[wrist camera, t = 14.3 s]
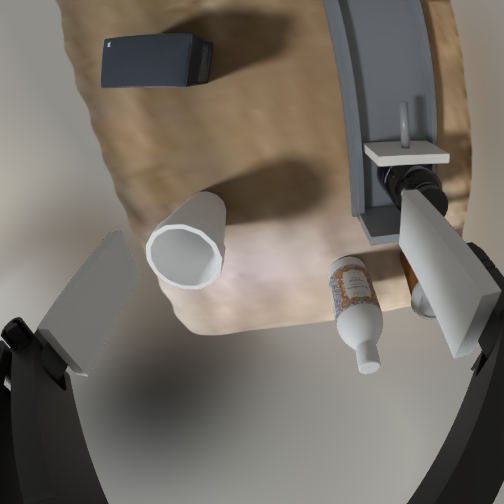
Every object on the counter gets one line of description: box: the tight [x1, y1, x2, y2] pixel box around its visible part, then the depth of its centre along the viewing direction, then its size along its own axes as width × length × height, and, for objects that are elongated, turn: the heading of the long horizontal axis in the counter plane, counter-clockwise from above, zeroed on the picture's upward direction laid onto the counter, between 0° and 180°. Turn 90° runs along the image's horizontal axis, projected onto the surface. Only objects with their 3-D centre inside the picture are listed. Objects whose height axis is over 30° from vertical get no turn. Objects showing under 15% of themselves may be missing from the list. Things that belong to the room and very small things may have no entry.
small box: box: [100, 33, 213, 88], centre depth 28 cm, size 11×6×10 cm, turn 82°
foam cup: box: [146, 191, 226, 289], centre depth 39 cm, size 10×9×13 cm
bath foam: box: [328, 257, 383, 374], centre depth 41 cm, size 7×7×20 cm
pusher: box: [363, 102, 450, 167], centre depth 30 cm, size 7×10×7 cm
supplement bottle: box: [377, 164, 448, 217], centre depth 32 cm, size 7×7×12 cm
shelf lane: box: [323, 0, 450, 245], centre depth 29 cm, size 34×14×9 cm, turn 11°
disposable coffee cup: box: [400, 251, 437, 320], centre depth 41 cm, size 10×10×12 cm
